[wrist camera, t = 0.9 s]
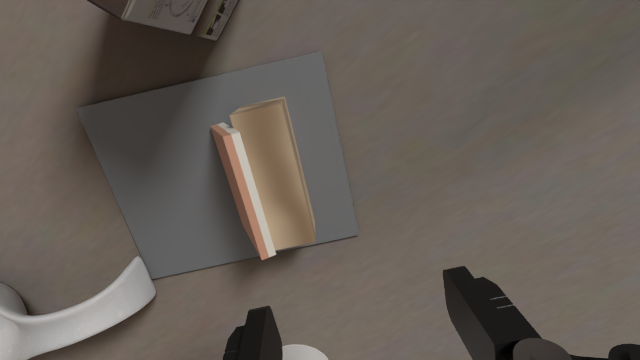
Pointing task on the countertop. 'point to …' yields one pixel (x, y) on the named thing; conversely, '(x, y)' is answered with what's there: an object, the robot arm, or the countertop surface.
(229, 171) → the tile
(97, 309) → the spoon rest
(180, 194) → the mat
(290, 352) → the bracket
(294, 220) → the block
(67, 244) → the countertop surface
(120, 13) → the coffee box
